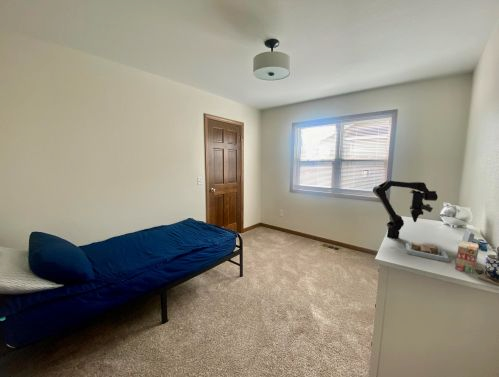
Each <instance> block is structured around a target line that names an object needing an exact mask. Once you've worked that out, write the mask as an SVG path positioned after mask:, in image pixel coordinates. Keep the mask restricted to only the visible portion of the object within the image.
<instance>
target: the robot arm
mask: <svg viewBox="0 0 499 377" xmlns="http://www.w3.org/2000/svg"><path fill="white" fill-rule="evenodd" d="M392 187H397V188H406V189H408V188H409V189H411V190H410V191H409V193H410V194H412V199H411V205H410V206H409V210H410V214H411V218H412V221H413V223H417V220H418V218H419V216H420V215H421V216H423V215H424V211H427V212H428V213H431V212H432V211H433V209H434V207H432V206H431V204H430V203H426V204H424V201H426V202H427V201H429V202H430V201H431V202H435V201H437V200H438V193H437V191H436V190H429V189H428V188H427V185H426V183H425V182H421V181H409V182H406V181H398V180H397V181H395V180H391V179H387V180H385V181H384V182H383V183H381V184H379V185H378V186H377V185H376V186H374V187H373V188H372V192H373V194H374V195H375V196H376V197H377V198H378V199H379V201H380V202H381V203H382V205H383V207H384V209H385V211H386V213H387V215H388V216H389V217H388V218H389V221H388V222H387V223H386V226H387V233H386V237H387V238H393V239H399V238H400V230H401V229H402V228H403V227H404V224H405V221H404V220H403V218H402V216H401V215H400V214H397V213H396V211H395V210H394V208H393V206H392V204H391V202H390V201H389V199H388V198H387V191H388V190H389V189H390V188H392Z"/></svg>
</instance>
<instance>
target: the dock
mask: <svg viewBox="0 0 499 377" xmlns="http://www.w3.org/2000/svg"><path fill="white" fill-rule="evenodd" d="M405 251H406V254H409V255H413V256H418V257H422V258H426V259H427V258H428V259H432V260H437V261H441V262H447V263H448V262H450V261H449V260H450V258H449V257H448V255H447V253H446V252H445V250H444V249H440V250H439V254H440V255H439V254H435V253H431V254H428V253H423V252H420V251H419V250H414V249H412V250H411V248H410V243H407V242H406V243H405Z"/></svg>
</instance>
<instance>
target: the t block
mask: <svg viewBox="0 0 499 377" xmlns="http://www.w3.org/2000/svg"><path fill="white" fill-rule="evenodd" d="M410 246H411V249H412V250H414V251H419V252H423V253H428V254H435V255H439V254H438V252H439V248H438V246H434V245H429V244H424V243H423V244H422V243H418V242H413V241H412V242H411V245H410Z"/></svg>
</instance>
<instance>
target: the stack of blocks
mask: <svg viewBox="0 0 499 377" xmlns="http://www.w3.org/2000/svg"><path fill="white" fill-rule="evenodd" d="M479 246H480V245H479V243H477V242H476V243H475V242H472V241H471V242H470V241H466V240H462V241H461V242H460V243H459V245H458V247H457V254H456V261H455V267H454V269H455V270H458V271H461V272H465V273H469V274H471V273H472V275H473V274H474V272H475V269H476V265H477V263H478V262H477V261H478V254H479V248H480V247H479Z"/></svg>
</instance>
